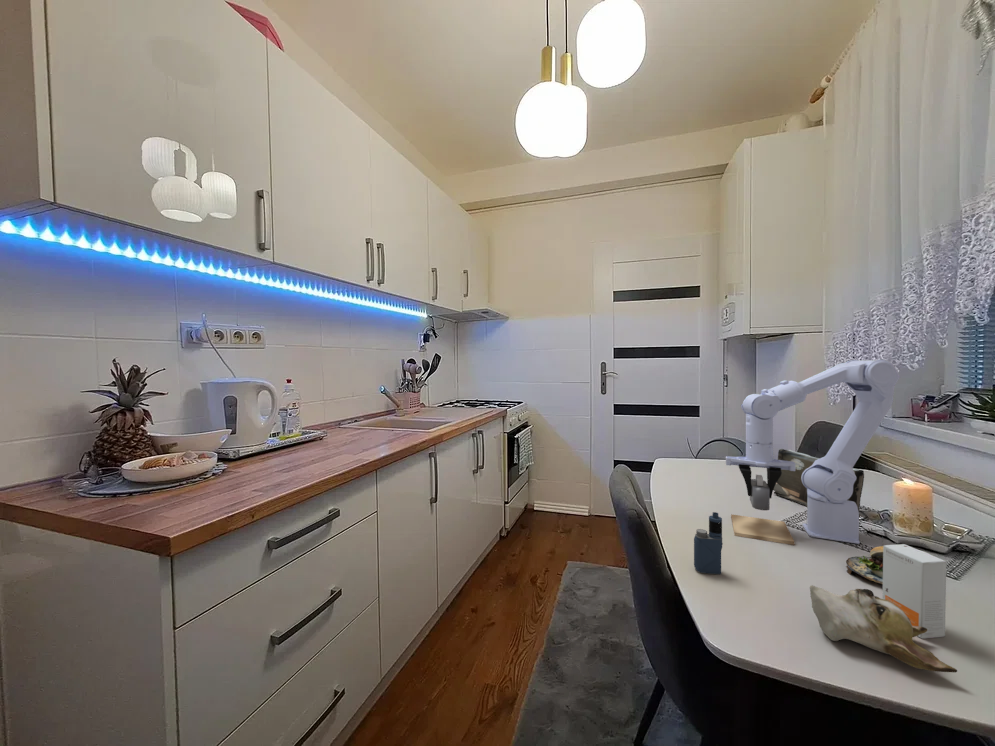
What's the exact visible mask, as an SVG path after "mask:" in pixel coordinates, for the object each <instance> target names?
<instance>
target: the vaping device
mask: <svg viewBox="0 0 995 746" xmlns="http://www.w3.org/2000/svg"><path fill="white" fill-rule="evenodd" d="M695 532H696V533H695V534H694V537H693V565H694V569H695V571H697V573H702V574H710V575H711V574H712V575H722V549H723V544H724V543H723V518H722V517H721V516H719V512H717V511H716V512H715V511H713V512H712V515H709V516H708V531H707V530H705V529H701V528H697V529H696V531H695Z"/></svg>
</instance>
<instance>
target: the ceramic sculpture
mask: <svg viewBox="0 0 995 746" xmlns="http://www.w3.org/2000/svg"><path fill="white" fill-rule="evenodd" d="M809 592H810V599H811V608H812V611H813V613H814V614H815V617H816V619H817V621H818V624H819V627H820V630H821V631H822V632H823V634H824V635H826V636H827V637H828V638H829V640H831V641H833V642H838V641H839V640H840V641H841V640H845V639H846V640H849V641H853V642H856V643H858V644H860V645H863V646H864V647H866V648H870V649H872V650H874V651H877V652H880V653H882V654H886V655H889V656H892V657H894V658H896V659H897V660H898V661H901V663H904V664H907V665H908V666H910V667H912V668H915V669H919V670H925V671H931V672H937V673H938V672H941V673H957V672H958V669H956V668H955V667H953V666H951V665H949V664H947V663H945V662H944V661H941V660H940V659H939V657H937V656H935V655H934V653H932V652H931V651H930V650H928V649H926V648H924V647H922V646H920V645H919V644H917V643H916V642H914V640H913V638H914V637H918V635H920V634H923V633H925V632H927V628H924V627H921V626H912V624H911V622H910V619H909V618H908V617H907V616H906V614H905V613H904V612H903V611H902V610H901V609H900V608H899V607H898V606H896V605H895V604H894V603H892V602H890V601H889V600H886V599H882V598H881V597H879V596H876V595H875V594H874V592H873V590H871V589H868V588H855V589H851V590H849V591H848V592H847V593H846V594H844V595H843V594H842V595H841V594H836V593H833V592H831V591H829V590H826V589H825V588H823V587H818V586H815V585H810V586H809Z"/></svg>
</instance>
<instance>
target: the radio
mask: <svg viewBox="0 0 995 746" xmlns="http://www.w3.org/2000/svg"><path fill="white" fill-rule="evenodd" d="M817 459H820V458H819V457H815V456H811V455H809V454H806V453H802V452H798V451H795V450H792V449H783V448H781V449H780V448H779V449H778V452H777V460H783V461H793V462H794V463H795V471H790V470H783V469H781V472H782V474H781V476H780V478H779V479H778V481H777V483H776V485H775V487H774V489H773V495H777V496H779V497H782V498H785V499H787V500H790V501H792V502H795V503H797V504H800V505H802V506H805V507H807V496H808V495H807V488H806V487H805V486H804V485H803V483H802V480H801V476H802V473H803V472H804V471H805V470H806V469H807V468H809V467H810V466H812V465H813V463H814V462H815V460H817ZM853 471H854V473H855V475H856V478H857V479H856V481H855V482H854V485H853V493H852V495H851V497H850V498H849V499H848V501H853V502H855V503H856V505H857V507H858V512H859V511H860V508H861V507H860V505H861V497H862V493H863V487H864V480H865V479H864V478H865V473H864V470H863V469H858V468H854V467H853ZM859 513H860V512H859ZM860 516H862V515H861V514H859V517H860Z"/></svg>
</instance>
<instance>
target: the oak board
mask: <svg viewBox="0 0 995 746" xmlns="http://www.w3.org/2000/svg"><path fill="white" fill-rule="evenodd" d="M730 518H731V523H732V529H733V534H734V535H733V536H735V537H743V538H748V539H754V540H761V541H765V542H771V543H773V542H774V543H779V544H785V545H791V546H792V545H793V546H795V539H794V537H793V536H792V534H791V532H790V531H789V528H788V526H787V524H786V522H785V521H783V520H775V519H767V518H760V517H752V516H745V515H738V514H732V513H731V515H730Z"/></svg>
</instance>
